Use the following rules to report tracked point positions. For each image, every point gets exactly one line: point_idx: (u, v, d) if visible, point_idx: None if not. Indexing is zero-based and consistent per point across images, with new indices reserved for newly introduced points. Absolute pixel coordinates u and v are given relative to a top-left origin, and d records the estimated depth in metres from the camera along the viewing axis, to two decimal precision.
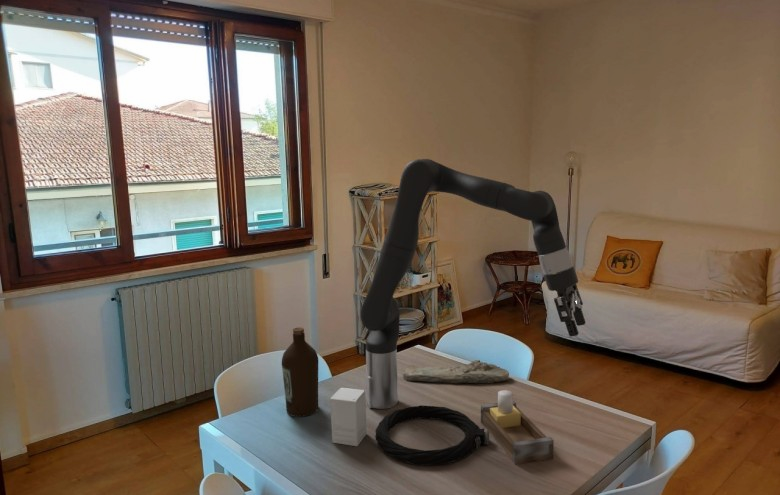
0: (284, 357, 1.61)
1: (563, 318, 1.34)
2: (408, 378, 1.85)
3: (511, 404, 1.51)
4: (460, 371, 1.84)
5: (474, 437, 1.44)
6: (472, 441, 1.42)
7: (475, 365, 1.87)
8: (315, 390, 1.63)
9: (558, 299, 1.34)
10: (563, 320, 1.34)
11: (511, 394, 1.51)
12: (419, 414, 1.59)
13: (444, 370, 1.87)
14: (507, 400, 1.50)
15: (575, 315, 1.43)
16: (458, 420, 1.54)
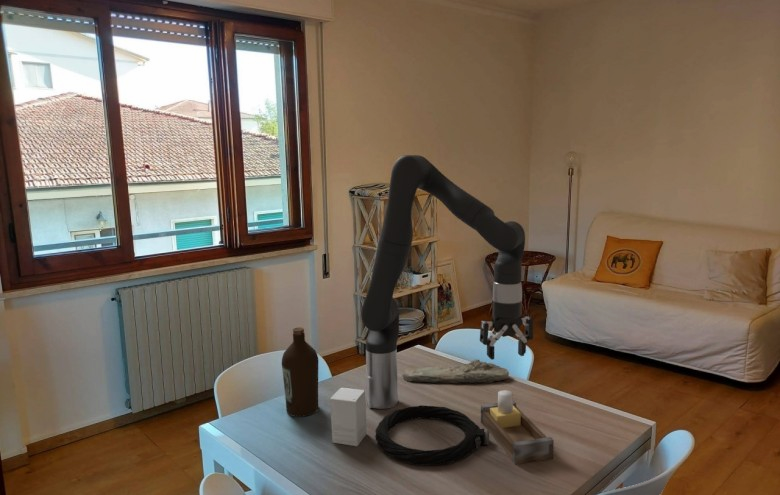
0: (284, 357, 1.61)
1: (481, 340, 1.48)
2: (408, 379, 1.84)
3: (511, 404, 1.51)
4: (460, 371, 1.84)
5: (474, 437, 1.44)
6: (472, 441, 1.42)
7: (475, 364, 1.87)
8: (315, 390, 1.63)
9: (482, 323, 1.47)
10: (481, 341, 1.48)
11: (511, 394, 1.51)
12: (419, 414, 1.59)
13: (444, 370, 1.87)
14: (507, 400, 1.50)
15: (518, 344, 1.51)
16: (458, 420, 1.54)
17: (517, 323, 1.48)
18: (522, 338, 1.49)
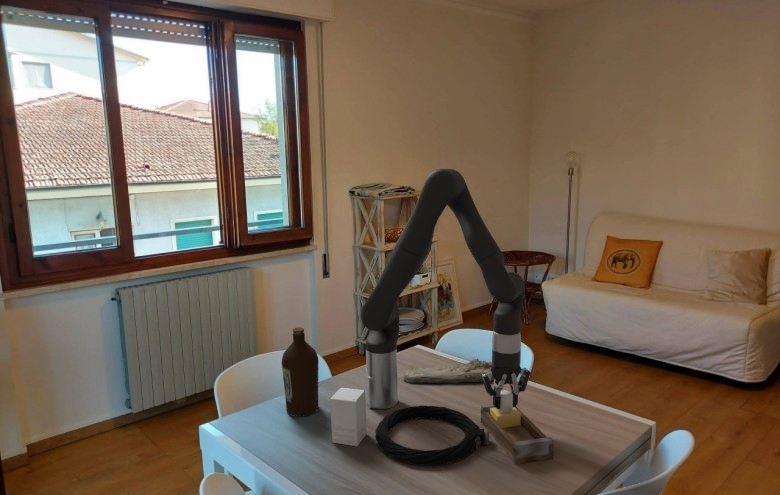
0: (284, 357, 1.61)
1: (487, 391, 1.51)
2: (409, 380, 1.83)
3: (511, 404, 1.51)
4: (461, 370, 1.85)
5: (474, 437, 1.44)
6: (472, 441, 1.42)
7: (474, 364, 1.88)
8: (315, 390, 1.63)
9: (482, 376, 1.49)
10: None
11: (511, 394, 1.51)
12: (419, 414, 1.59)
13: (444, 370, 1.87)
14: (507, 400, 1.50)
15: None
16: (458, 420, 1.54)
17: (516, 371, 1.50)
18: (515, 389, 1.51)
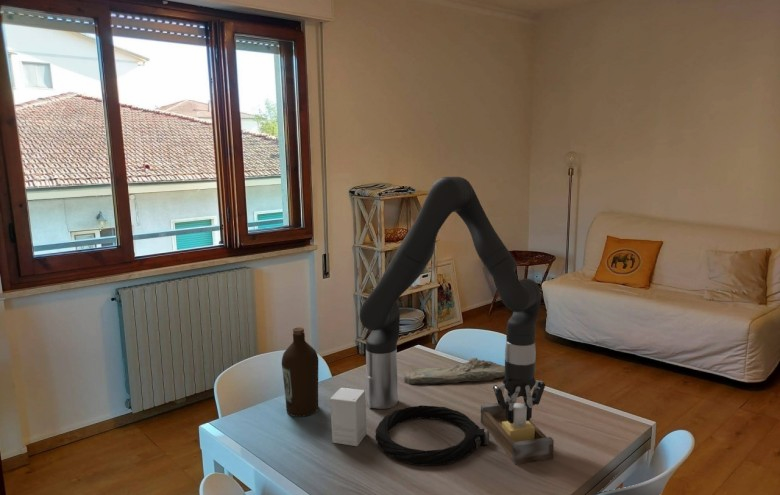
0: (284, 357, 1.61)
1: (499, 404, 1.43)
2: (411, 381, 1.82)
3: (525, 418, 1.43)
4: (461, 370, 1.85)
5: (474, 437, 1.44)
6: (472, 441, 1.42)
7: (474, 363, 1.88)
8: (315, 390, 1.63)
9: (494, 389, 1.42)
10: (500, 405, 1.43)
11: (525, 407, 1.44)
12: (419, 414, 1.59)
13: (444, 370, 1.87)
14: (521, 413, 1.42)
15: None
16: (458, 420, 1.54)
17: (530, 383, 1.42)
18: (529, 402, 1.43)
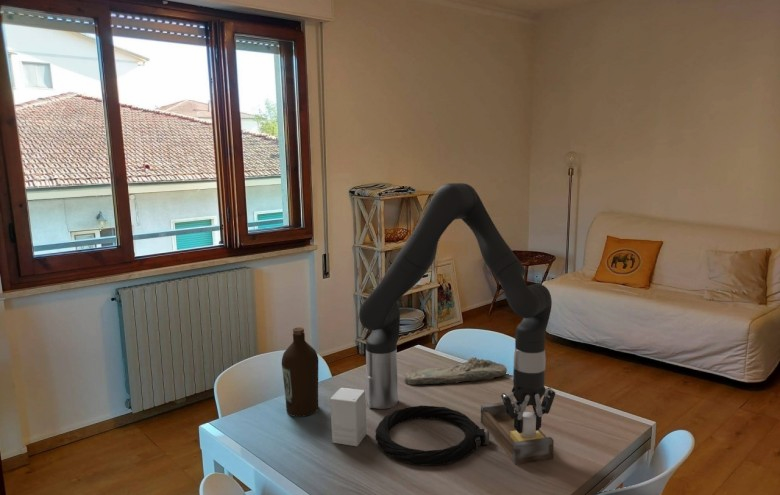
0: (284, 357, 1.61)
1: (508, 413, 1.38)
2: (412, 382, 1.82)
3: (534, 427, 1.38)
4: (461, 370, 1.85)
5: (474, 437, 1.44)
6: (472, 441, 1.42)
7: (473, 363, 1.89)
8: (315, 390, 1.63)
9: (503, 397, 1.37)
10: (508, 414, 1.39)
11: (534, 416, 1.39)
12: (419, 414, 1.59)
13: (444, 370, 1.86)
14: (530, 423, 1.38)
15: None
16: (458, 420, 1.54)
17: (539, 391, 1.38)
18: (539, 411, 1.38)
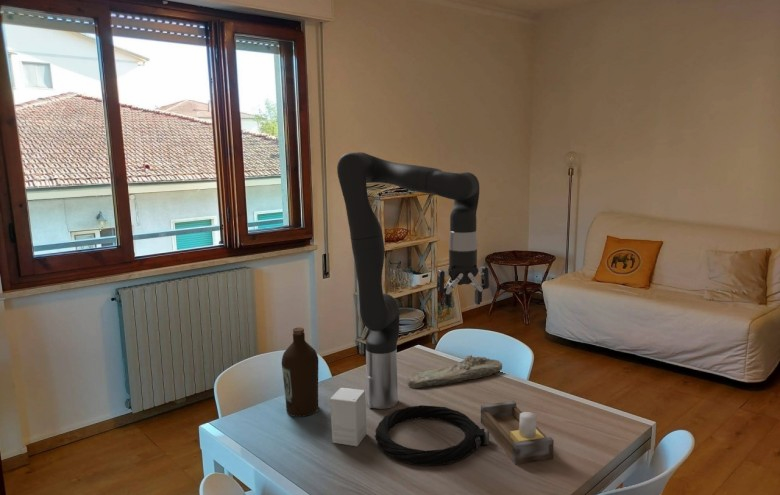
0: (284, 357, 1.61)
1: (438, 288, 1.52)
2: (416, 385, 1.79)
3: (534, 427, 1.38)
4: (462, 369, 1.86)
5: (474, 437, 1.44)
6: (472, 441, 1.42)
7: (471, 361, 1.90)
8: (315, 390, 1.63)
9: (439, 271, 1.51)
10: (438, 289, 1.52)
11: (534, 416, 1.39)
12: (419, 414, 1.59)
13: (445, 371, 1.86)
14: (530, 423, 1.38)
15: (475, 293, 1.55)
16: (458, 420, 1.54)
17: (473, 272, 1.52)
18: (478, 287, 1.53)
